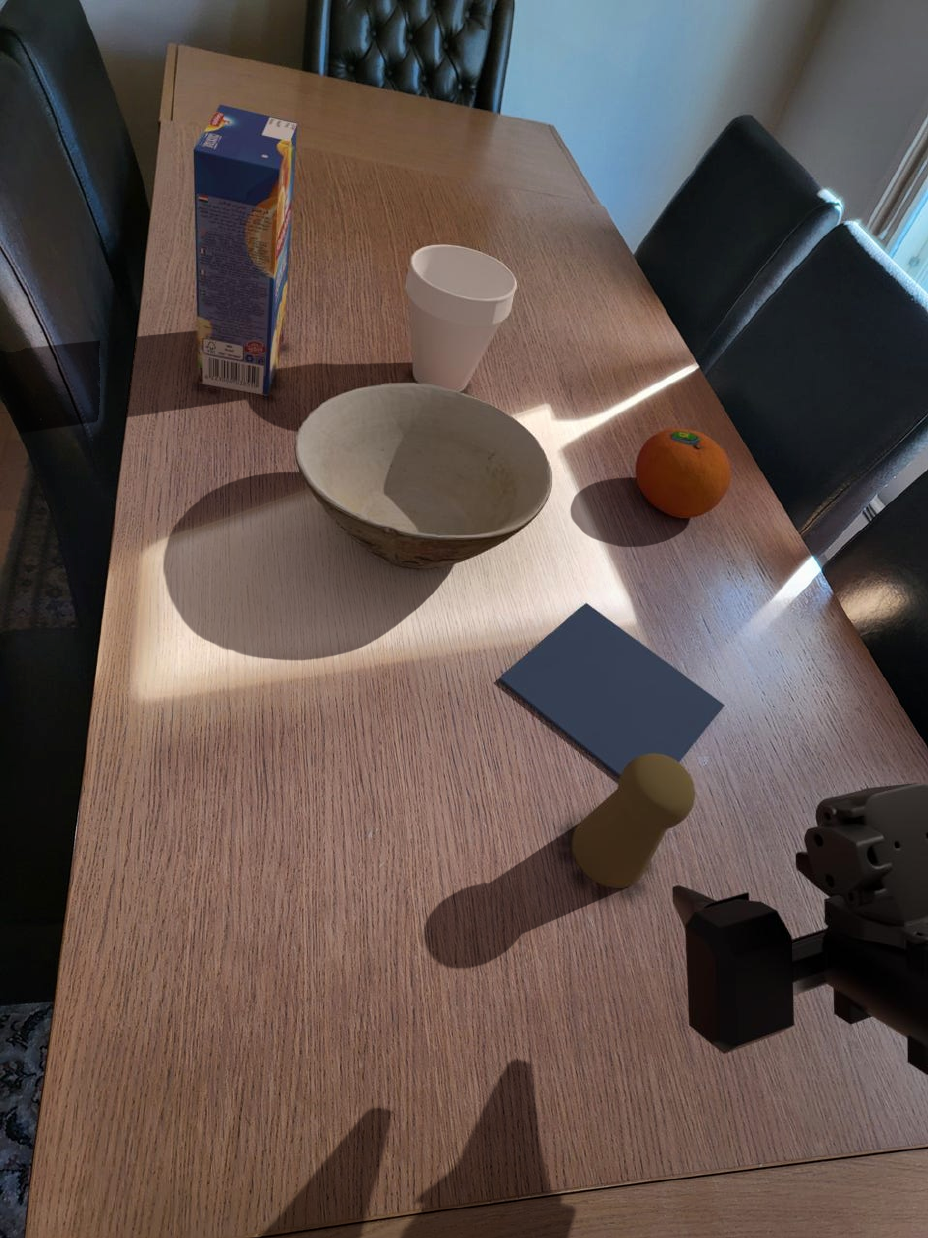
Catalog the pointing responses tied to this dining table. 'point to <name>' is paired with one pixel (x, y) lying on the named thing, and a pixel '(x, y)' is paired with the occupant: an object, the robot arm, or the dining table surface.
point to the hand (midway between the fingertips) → (738, 876)
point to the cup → (454, 311)
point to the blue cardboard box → (242, 246)
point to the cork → (633, 820)
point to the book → (611, 692)
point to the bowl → (422, 471)
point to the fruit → (682, 472)
